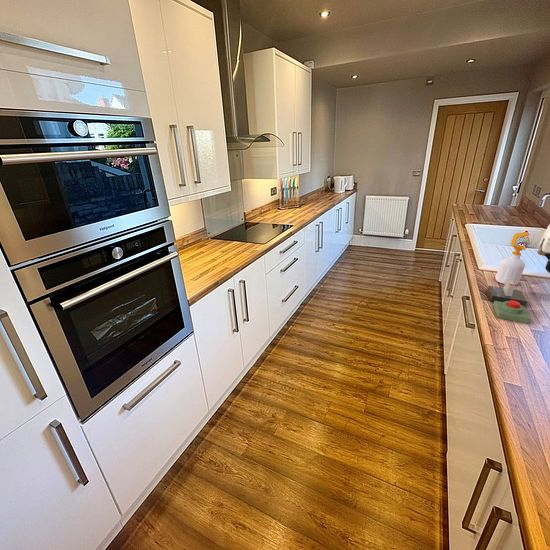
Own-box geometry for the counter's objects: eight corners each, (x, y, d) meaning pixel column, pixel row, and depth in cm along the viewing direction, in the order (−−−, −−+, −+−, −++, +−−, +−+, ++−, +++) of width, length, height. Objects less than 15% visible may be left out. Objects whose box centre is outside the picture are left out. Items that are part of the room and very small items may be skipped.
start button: (517, 305, 115) (519, 301, 114) (519, 309, 112) (521, 305, 111) (506, 303, 116) (508, 299, 115) (508, 307, 113) (510, 303, 112)
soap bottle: (520, 287, 135) (540, 236, 124) (497, 284, 138) (515, 234, 127) (514, 278, 143) (532, 230, 132) (492, 276, 146) (508, 229, 135)
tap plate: (518, 296, 127) (521, 290, 126) (524, 307, 119) (527, 301, 118) (486, 291, 132) (488, 285, 131) (490, 301, 124) (492, 295, 123)
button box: (522, 310, 118) (525, 302, 116) (529, 323, 110) (533, 314, 108) (492, 305, 122) (495, 296, 120) (497, 317, 114) (500, 308, 112)
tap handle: (502, 289, 127) (506, 278, 125) (508, 290, 127) (512, 279, 124) (505, 295, 123) (509, 284, 120) (511, 296, 122) (515, 285, 119)
